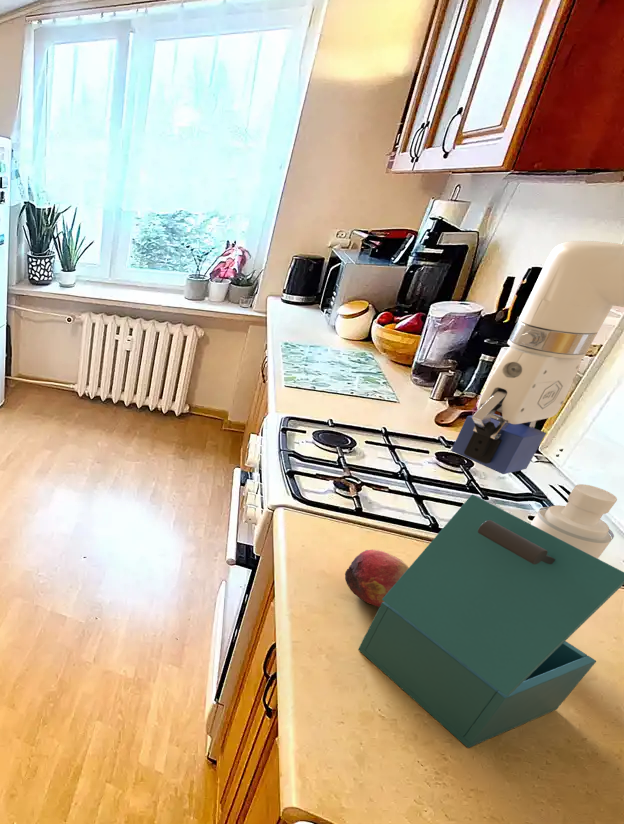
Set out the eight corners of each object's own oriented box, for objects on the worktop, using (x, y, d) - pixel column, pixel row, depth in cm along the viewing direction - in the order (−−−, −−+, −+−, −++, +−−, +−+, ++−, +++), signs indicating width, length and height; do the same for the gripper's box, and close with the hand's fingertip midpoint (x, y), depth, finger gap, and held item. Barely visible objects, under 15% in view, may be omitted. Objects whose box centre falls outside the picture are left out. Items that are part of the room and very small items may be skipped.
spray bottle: (469, 624, 74) (562, 479, 63) (478, 601, 78) (567, 460, 67) (532, 655, 70) (645, 505, 58) (538, 629, 73) (645, 483, 62)
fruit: (407, 626, 73) (431, 585, 70) (345, 611, 76) (365, 570, 72) (390, 588, 80) (411, 548, 76) (333, 575, 82) (351, 535, 79)
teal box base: (438, 622, 74) (466, 576, 70) (556, 709, 63) (597, 661, 59) (357, 649, 70) (381, 602, 66) (467, 748, 58) (505, 698, 54)
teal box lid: (474, 495, 61) (452, 485, 58) (632, 576, 49) (613, 568, 47) (384, 600, 66) (360, 595, 63) (508, 695, 54) (485, 694, 52)
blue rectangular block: (450, 450, 80) (467, 416, 77) (473, 446, 81) (490, 411, 79) (503, 474, 74) (523, 437, 71) (526, 469, 75) (546, 432, 73)
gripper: (542, 354, 64) (478, 478, 72) (626, 341, 68) (557, 459, 76) (474, 336, 70) (422, 452, 78) (556, 325, 75) (499, 436, 83)
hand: (490, 454), depth 77 cm, fingers closed on blue rectangular block, 5 cm apart
